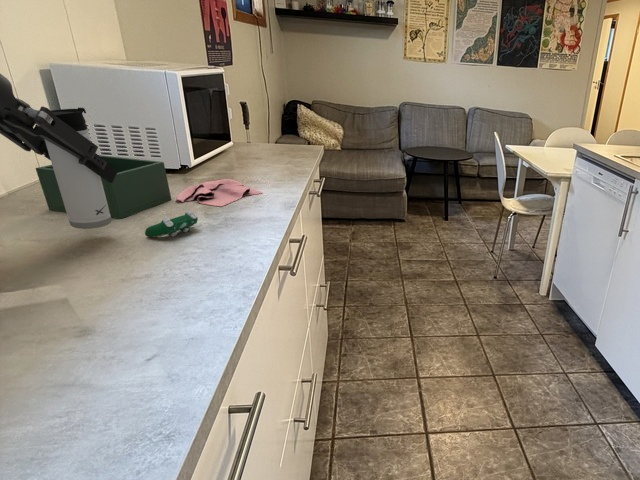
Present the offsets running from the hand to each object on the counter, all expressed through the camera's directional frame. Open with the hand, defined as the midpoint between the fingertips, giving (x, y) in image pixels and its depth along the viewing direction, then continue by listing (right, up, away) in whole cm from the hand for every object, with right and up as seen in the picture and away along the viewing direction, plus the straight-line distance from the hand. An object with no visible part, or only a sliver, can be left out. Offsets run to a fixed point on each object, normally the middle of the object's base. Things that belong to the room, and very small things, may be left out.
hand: (97, 173), depth 86 cm
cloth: (+5, +4, +34) cm, 35 cm away
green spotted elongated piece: (+10, -10, +8) cm, 16 cm away
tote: (-12, -1, +21) cm, 25 cm away
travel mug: (-1, -9, +1) cm, 9 cm away
